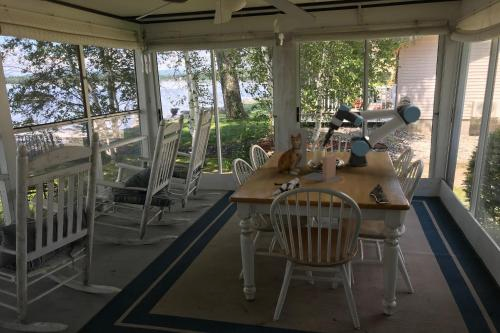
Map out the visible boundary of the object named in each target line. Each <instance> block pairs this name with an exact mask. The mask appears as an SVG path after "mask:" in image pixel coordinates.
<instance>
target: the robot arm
mask: <svg viewBox="0 0 500 333" xmlns="http://www.w3.org/2000/svg"><path fill="white" fill-rule="evenodd" d="M421 115H422V111H421V109H420V108H419V107H418V106H417V105H415V104H409V103H407V104H402V105H395V106H394V107H391V108H390V107H389V108H380V109H379V108H378V109H370V110H359V111H351V107H350V106H348V105H347V104H345V103H342V104H340V106H339V107H338V109H337V111H336V113H335V115H334V116H333V117H332V120H331V121H330V122H329V125H328V126H329V129H328V130H327V133H326V134H325V135H324V138H323V139H322V141H321V143H320V144H319V145H320V148H319V150H321V151H324V150H325V148H326V147H327V145H328V143H329V142H330V140H331V138H332V137H333V134H334V133H335V131H338V130H339V129H340V127H341V125H342V124H343V123H344V120H345V121H347V122H349V123H351V124H352V125H354V126H357V127H359V126H360V125H362V124H363V123H362V122H364V121H365V122H367V121H375V120H376V121H377V120H386V119H389V120H388V121H387V122H385V123H383V124H382V125H380V126H379V127H378V128H376V129H375V130H373V131H372V132H370V133H368V134H367V135H365V134H364V135H352V136H350V152H349V157H348V160H347V165H348V166H352V167H366V166H368V164H369V163H368V159H367V156H366V155H367V154H368V153H369V152H370V151H371V150H373V149H374V146H375V145H376V144H378V143H379V142H381V141H382V140H384V139H385V138H386V137H388V136H390V135H392V134H393V133H394V132H396V131H397V130H398V129H400V128H402V127H407V126H409V125H410V124H412V123H415V122H417V121H418V120H420V118H421Z"/></svg>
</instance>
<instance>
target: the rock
mask: <svg viewBox="0 0 500 333" xmlns="http://www.w3.org/2000/svg"><path fill="white" fill-rule="evenodd" d="M370 194H374V195H375V196H376V198H377V201H378V202H389V201H390V200H389V198H388V199H387V196H388V194H387V193H386V192H385V190H384V188H383V185H382V183H381V182H378V183H377V184H376V185H375V186H374V188H373V189H372V190H371V191H370V192H369V195H370Z"/></svg>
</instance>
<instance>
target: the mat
mask: <svg viewBox="0 0 500 333" xmlns="http://www.w3.org/2000/svg"><path fill="white" fill-rule="evenodd" d="M322 175H323V173H322V172H320V173H319V172H311V173H308V174H306V175H302V176H299V178H301V179H305V180H312V181H317V182H323V183H326V184H331V183H333V182H336V181H338V180H340V179H343V178H344V177H343V176H338V175H336V176H335V178H332V179H330V180H327V181H324V180H322Z"/></svg>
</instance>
